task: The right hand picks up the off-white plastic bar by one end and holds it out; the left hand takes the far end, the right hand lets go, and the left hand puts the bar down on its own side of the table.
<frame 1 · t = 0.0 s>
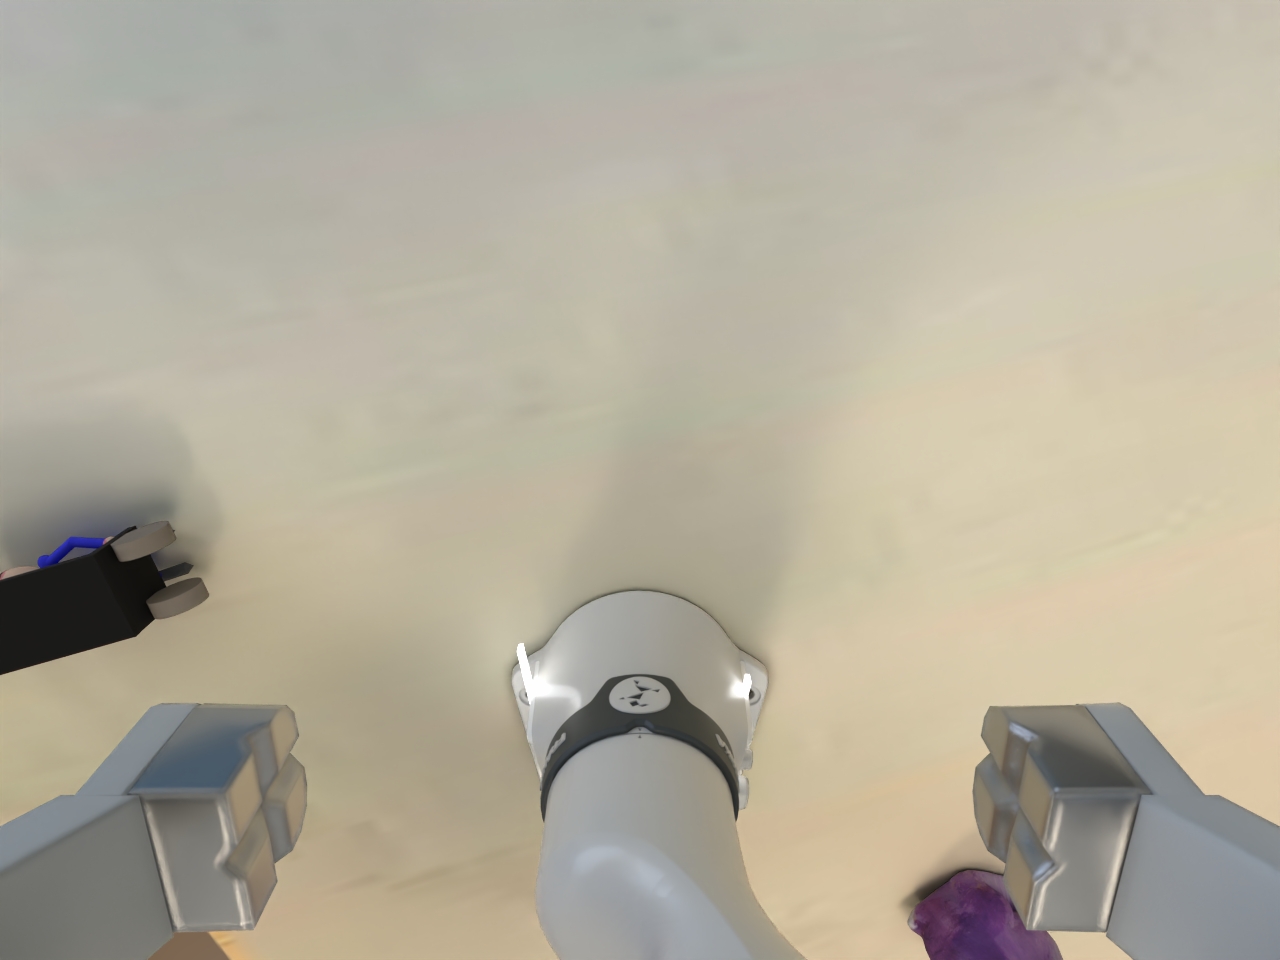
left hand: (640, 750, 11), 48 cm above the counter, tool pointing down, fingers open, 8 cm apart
figurine character: (114, 565, 63), on the counter
figurine: (977, 900, 74), on the counter
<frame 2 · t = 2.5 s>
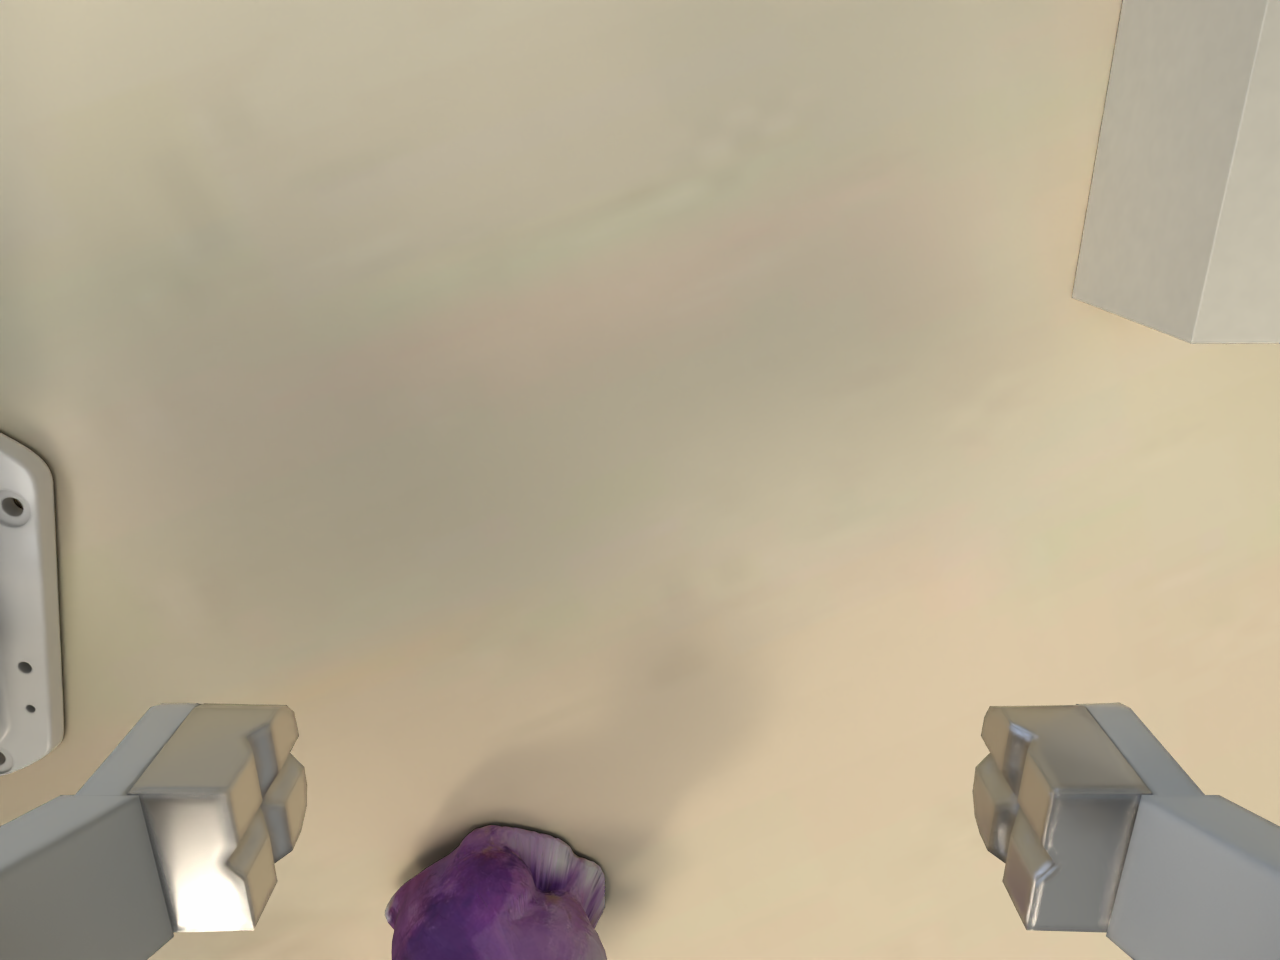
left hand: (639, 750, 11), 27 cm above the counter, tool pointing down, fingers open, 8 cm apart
figurine: (520, 876, 46), on the counter
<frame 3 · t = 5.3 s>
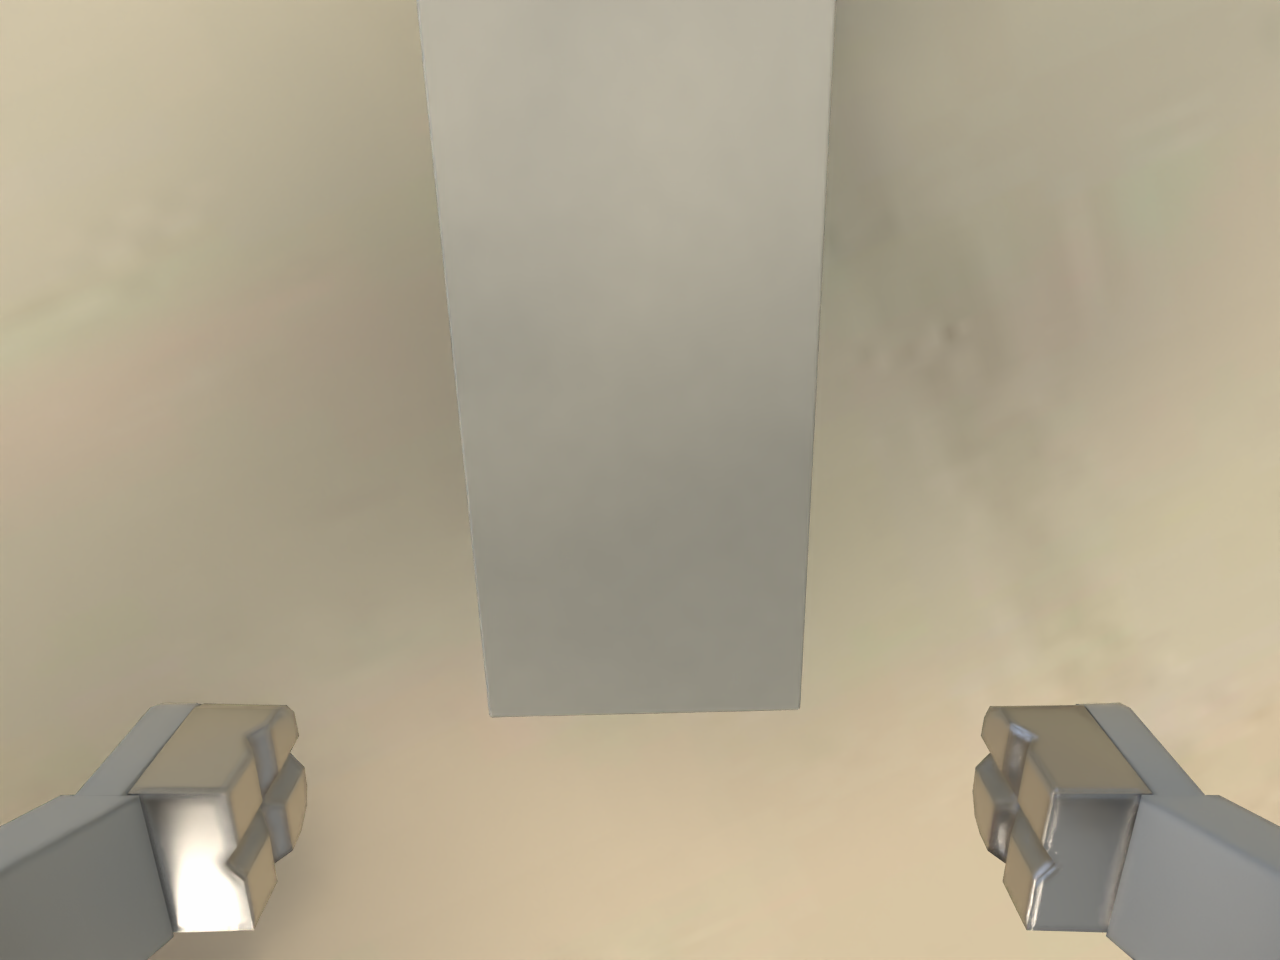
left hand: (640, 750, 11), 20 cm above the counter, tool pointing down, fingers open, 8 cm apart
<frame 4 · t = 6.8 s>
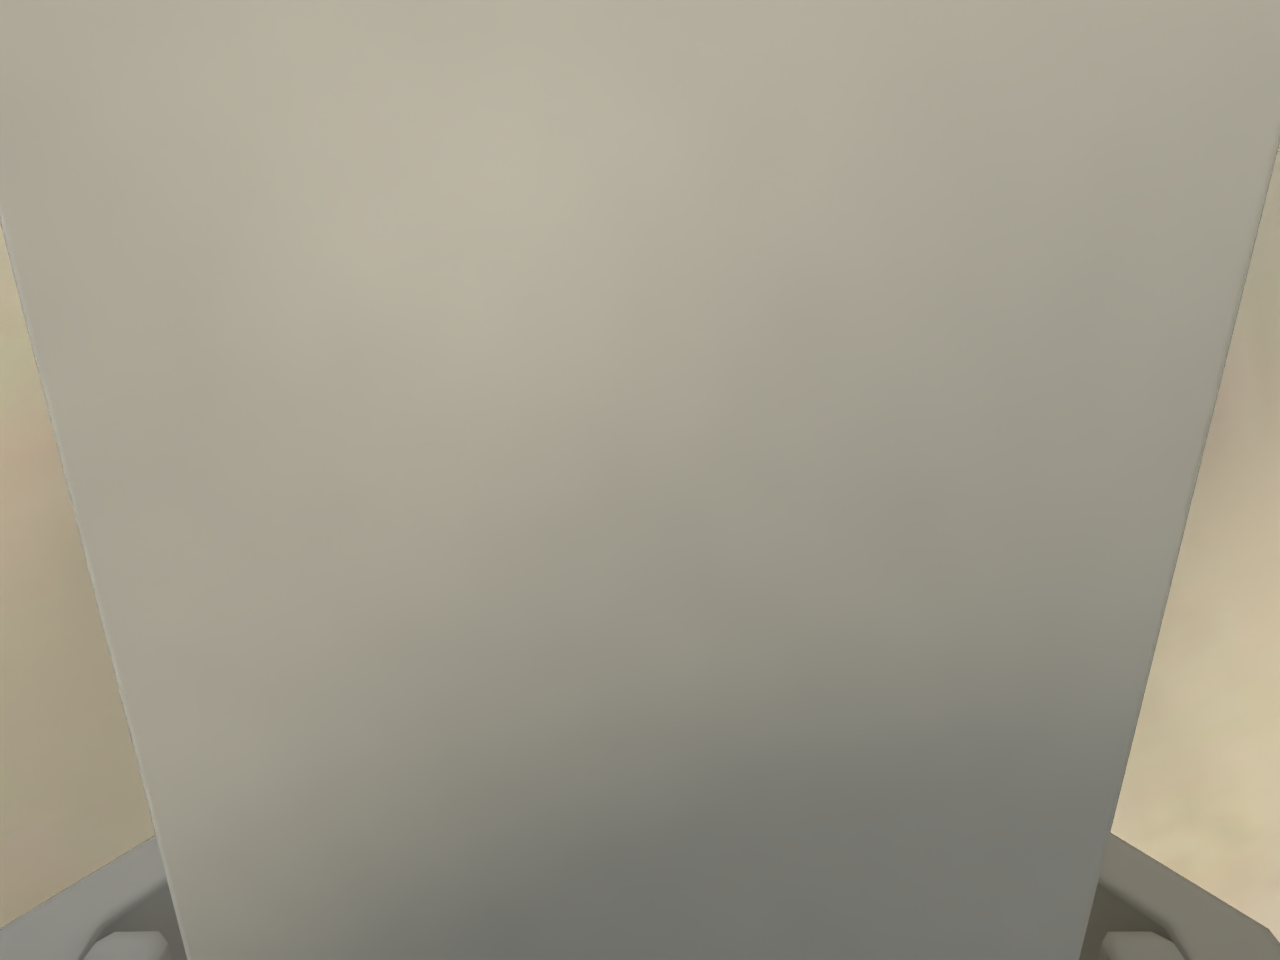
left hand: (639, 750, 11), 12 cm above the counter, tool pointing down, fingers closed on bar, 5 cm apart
when the right hand's fingers open (13 cm above the counter, at t = 8.0 s): bar stays where it is, held by the left hand.
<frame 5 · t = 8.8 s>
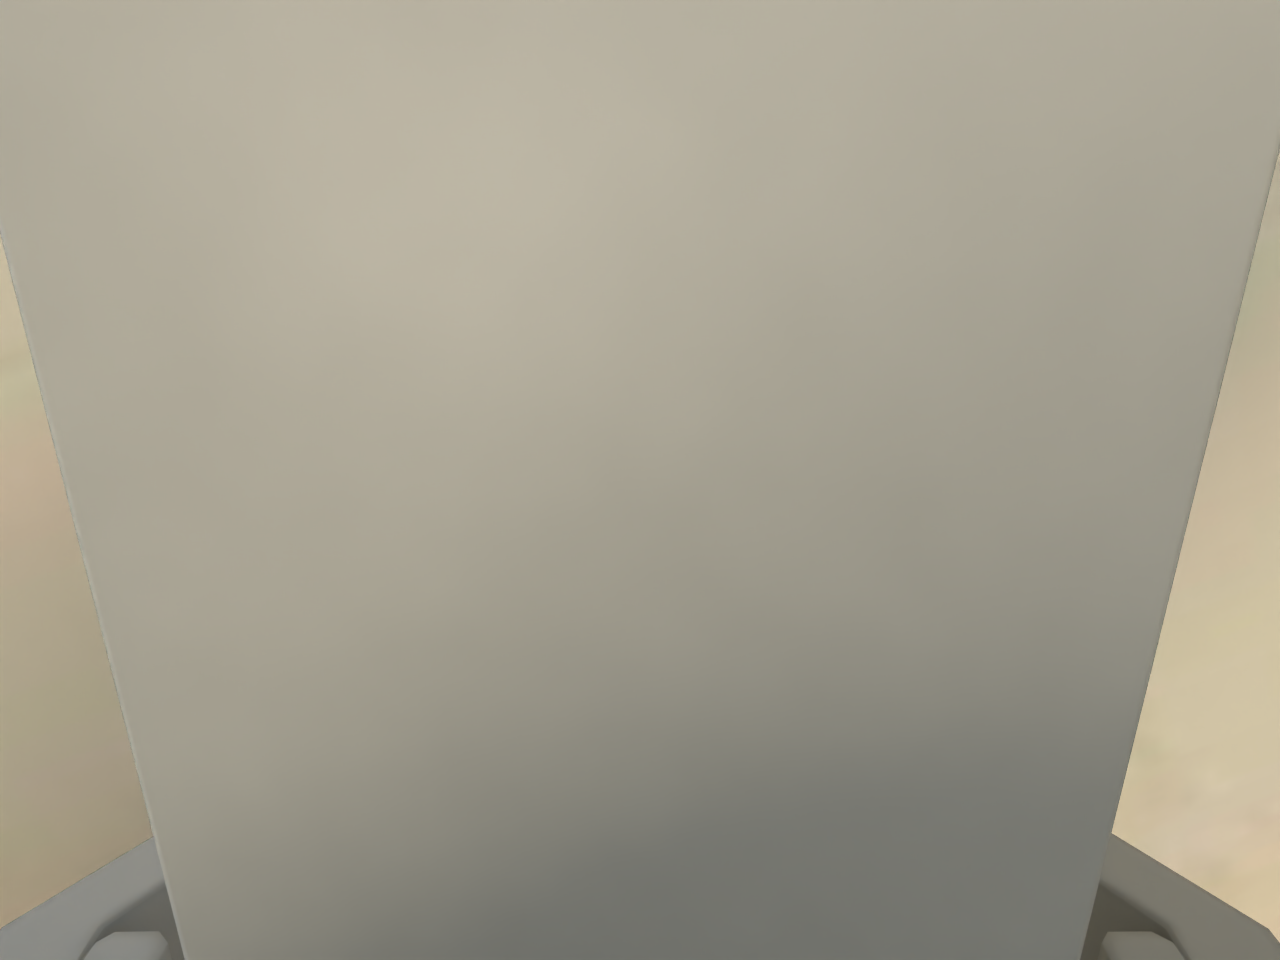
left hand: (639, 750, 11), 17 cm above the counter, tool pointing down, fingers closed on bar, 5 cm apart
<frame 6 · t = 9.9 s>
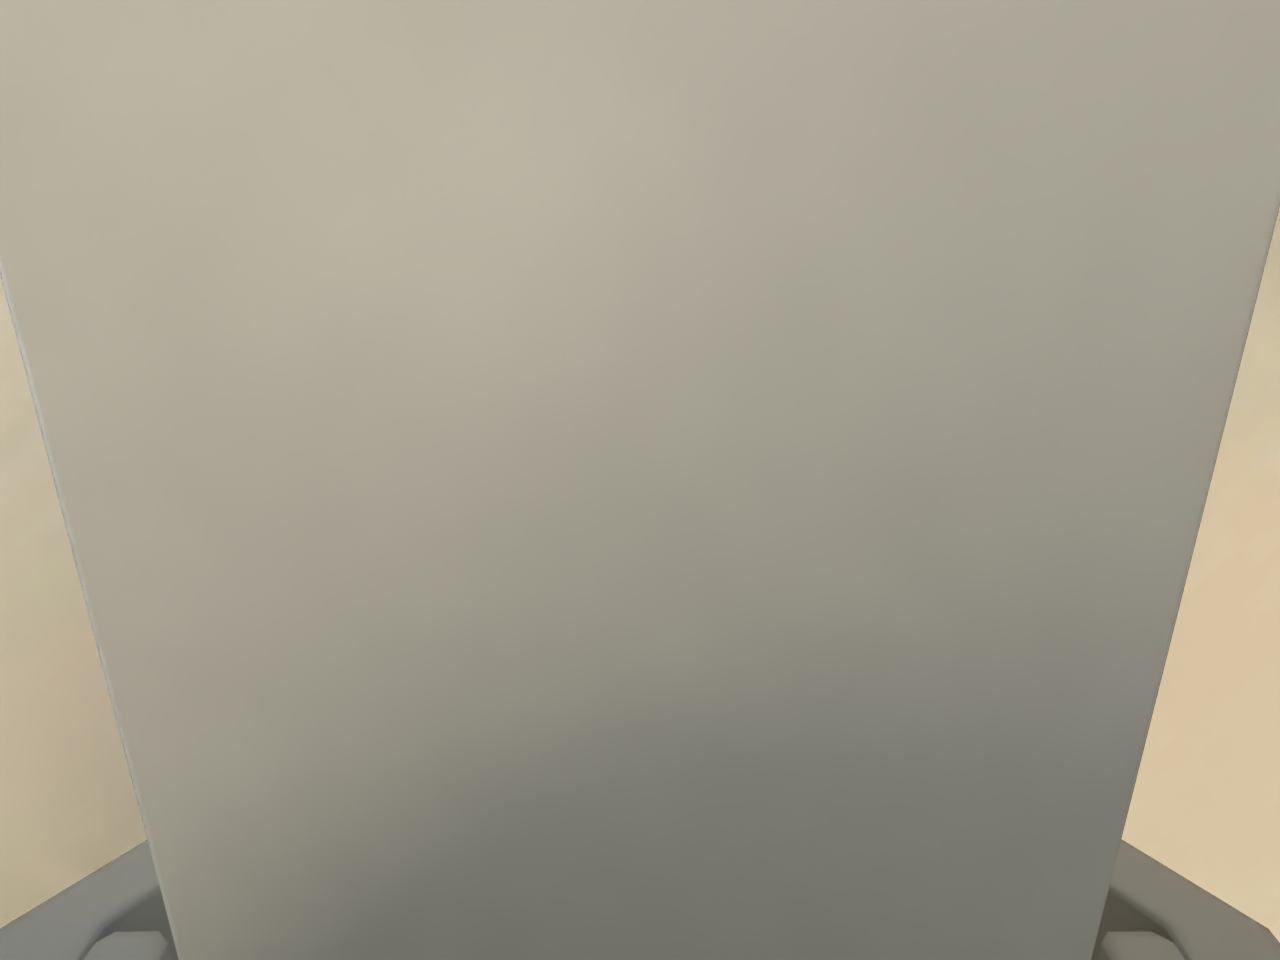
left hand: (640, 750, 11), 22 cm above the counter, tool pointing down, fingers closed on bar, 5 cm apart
when the left hand's fingers open (4 cm above the counter, at t = 13.3 s): bar stays where it is, on the counter.
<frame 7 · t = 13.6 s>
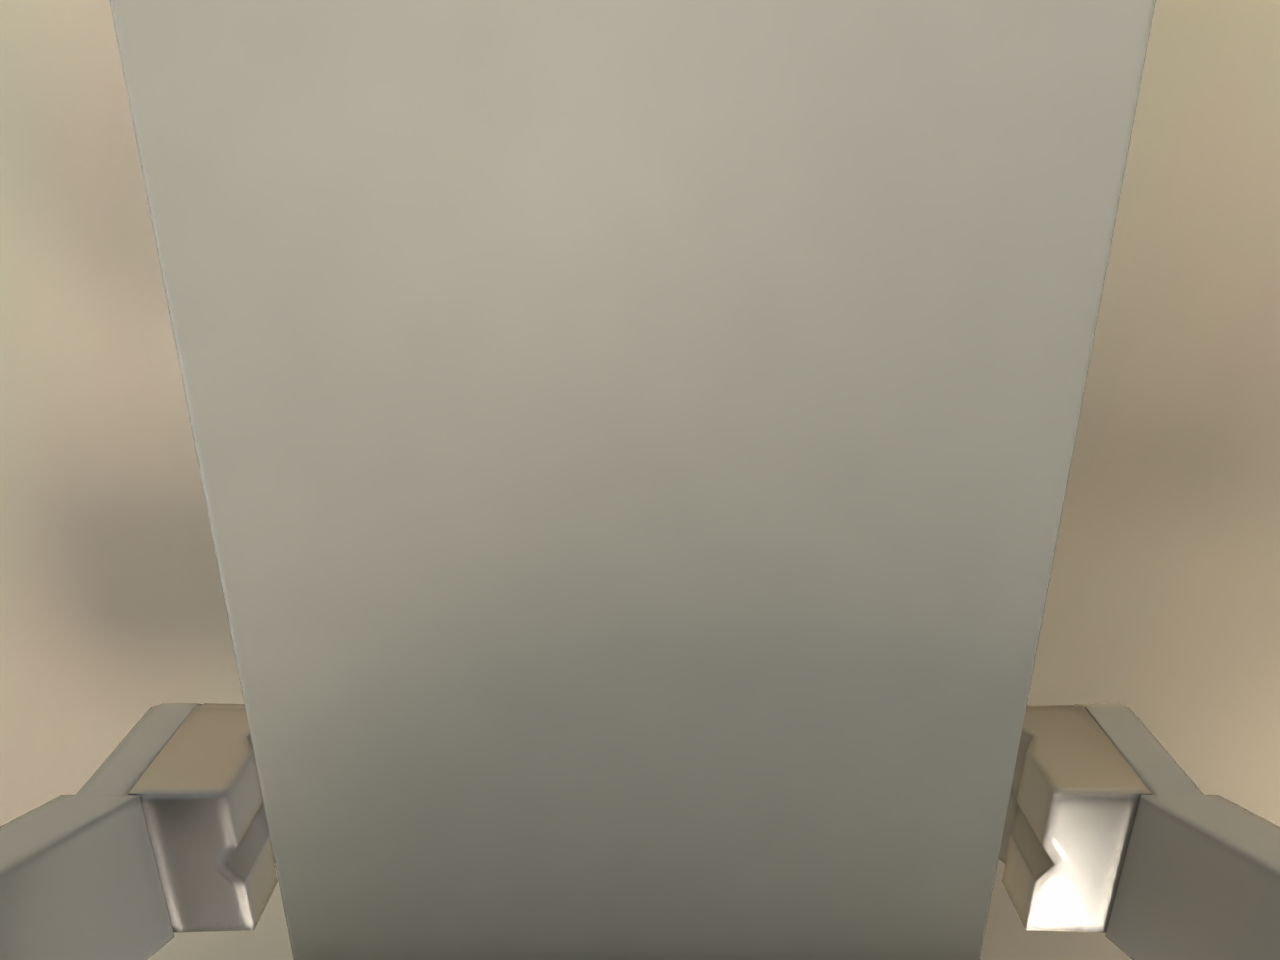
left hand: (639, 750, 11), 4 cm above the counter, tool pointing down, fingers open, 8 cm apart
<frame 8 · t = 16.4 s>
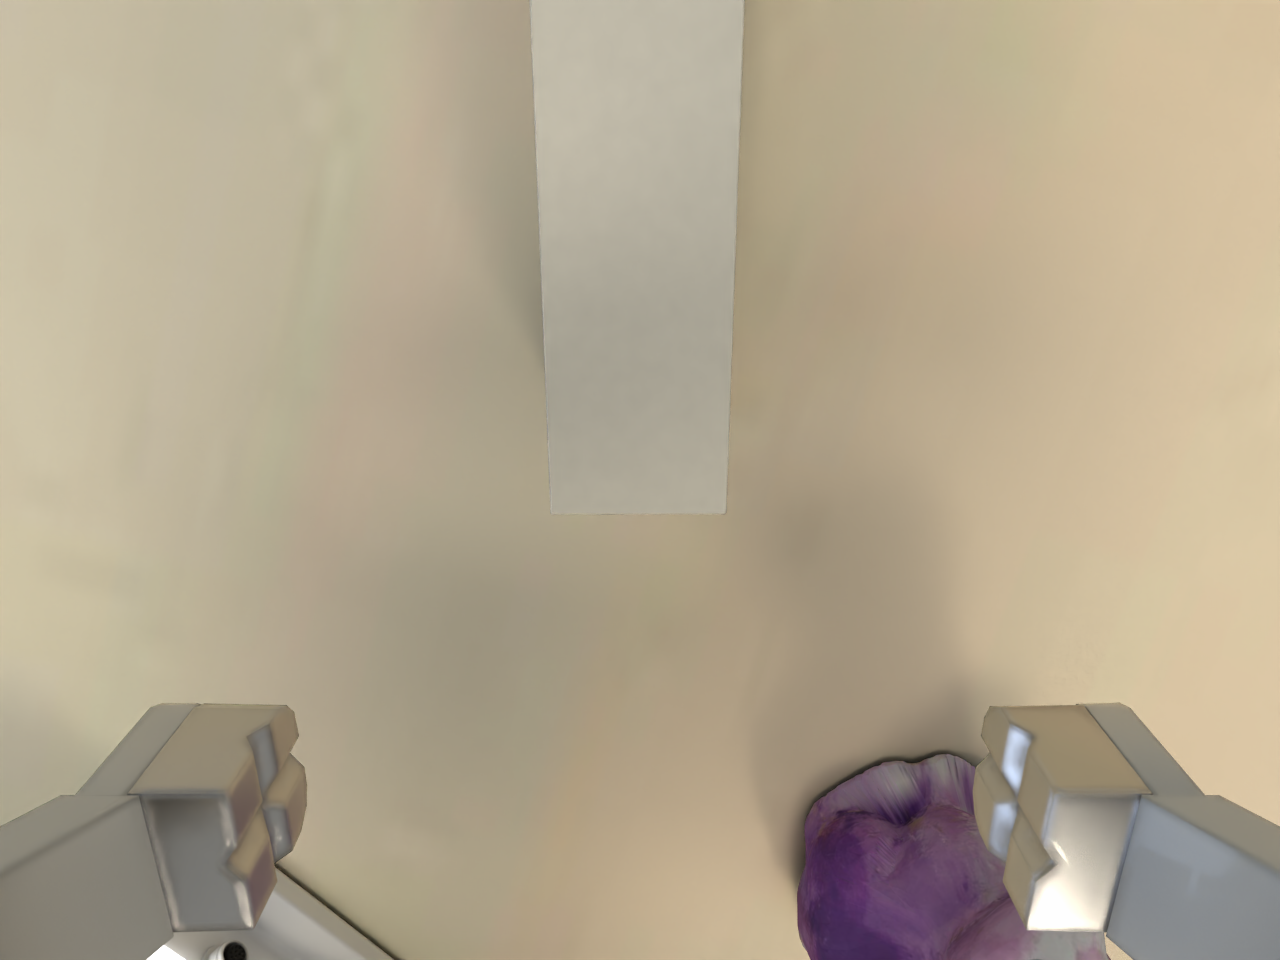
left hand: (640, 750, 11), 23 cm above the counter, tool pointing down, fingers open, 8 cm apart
bar: (637, 50, 28), on the counter
figurine: (893, 820, 39), on the counter
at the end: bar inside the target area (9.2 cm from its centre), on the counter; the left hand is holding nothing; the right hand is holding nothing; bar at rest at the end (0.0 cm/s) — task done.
